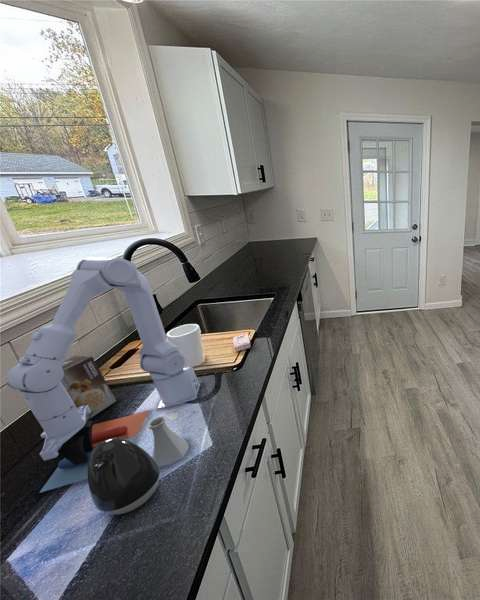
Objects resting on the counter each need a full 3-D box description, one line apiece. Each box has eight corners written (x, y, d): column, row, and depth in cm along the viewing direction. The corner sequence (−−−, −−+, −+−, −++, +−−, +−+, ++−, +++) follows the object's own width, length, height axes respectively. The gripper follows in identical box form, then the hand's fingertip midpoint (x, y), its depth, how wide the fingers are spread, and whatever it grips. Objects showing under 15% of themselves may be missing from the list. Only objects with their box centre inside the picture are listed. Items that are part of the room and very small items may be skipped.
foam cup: (199, 369, 106) (187, 336, 101) (173, 371, 107) (159, 337, 102) (215, 354, 115) (204, 323, 110) (190, 355, 115) (179, 324, 110)
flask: (149, 473, 69) (132, 439, 65) (156, 449, 75) (140, 417, 71) (187, 459, 72) (173, 425, 68) (190, 437, 78) (177, 406, 74)
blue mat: (136, 438, 79) (135, 436, 79) (120, 469, 70) (119, 468, 70) (66, 457, 75) (65, 456, 74) (39, 494, 66) (38, 492, 66)
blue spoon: (56, 475, 69) (51, 468, 68) (65, 462, 72) (61, 455, 72) (121, 456, 73) (117, 449, 72) (127, 445, 76) (123, 438, 75)
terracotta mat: (149, 411, 88) (149, 410, 88) (137, 436, 80) (136, 435, 79) (88, 427, 84) (87, 426, 84) (67, 456, 75) (66, 454, 75)
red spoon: (131, 427, 82) (127, 420, 81) (125, 436, 79) (122, 430, 78) (74, 442, 78) (70, 435, 78) (66, 453, 75) (61, 446, 74)
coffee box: (100, 399, 94) (76, 354, 88) (117, 401, 93) (94, 355, 87) (65, 422, 86) (35, 373, 80) (83, 424, 85) (54, 375, 79)
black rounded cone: (93, 535, 57) (53, 476, 52) (114, 487, 66) (82, 433, 61) (158, 510, 61) (128, 453, 55) (170, 468, 70) (145, 415, 64)
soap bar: (235, 352, 115) (233, 346, 114) (234, 342, 123) (232, 336, 122) (251, 348, 117) (249, 342, 117) (249, 338, 125) (247, 332, 124)
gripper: (52, 396, 72) (79, 440, 77) (6, 442, 59) (42, 491, 64) (90, 387, 74) (114, 431, 79) (54, 430, 61) (85, 478, 67)
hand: (84, 457), depth 72 cm, fingers closed on blue spoon, 2 cm apart
